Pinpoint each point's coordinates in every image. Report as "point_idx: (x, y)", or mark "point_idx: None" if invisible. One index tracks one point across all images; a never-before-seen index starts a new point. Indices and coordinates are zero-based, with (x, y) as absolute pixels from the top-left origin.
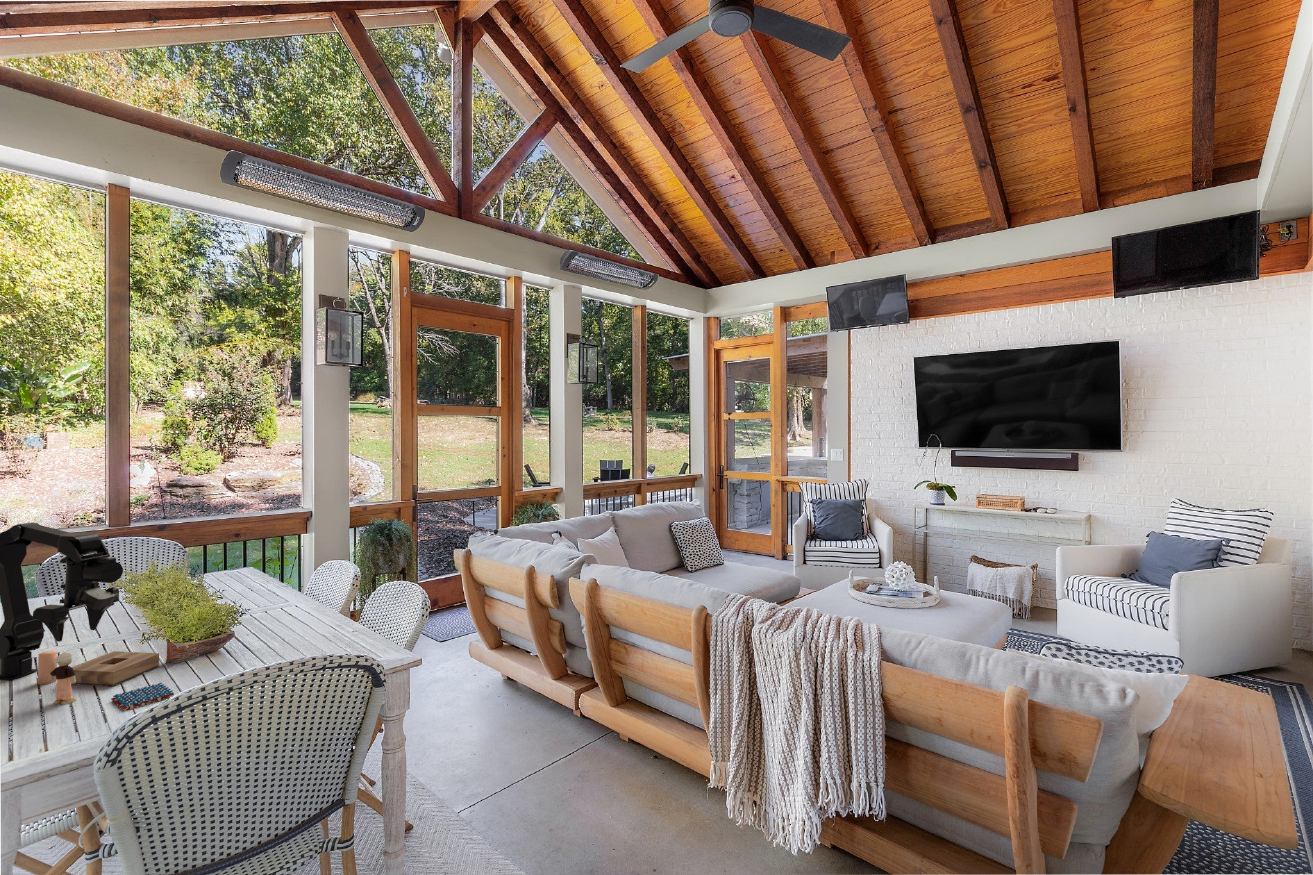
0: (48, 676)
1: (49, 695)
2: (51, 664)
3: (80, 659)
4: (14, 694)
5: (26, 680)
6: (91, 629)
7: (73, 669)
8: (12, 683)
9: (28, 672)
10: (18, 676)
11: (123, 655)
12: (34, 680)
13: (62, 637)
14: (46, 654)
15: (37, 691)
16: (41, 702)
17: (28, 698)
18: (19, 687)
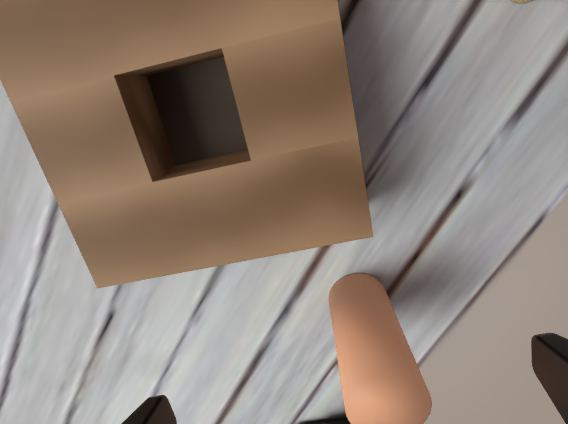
0: (377, 292)
1: (475, 126)
2: (380, 326)
3: None
4: (487, 274)
5: None
6: (172, 420)
7: (357, 196)
8: None
9: (332, 422)
10: None
11: (104, 170)
12: None
13: (566, 356)
14: (412, 388)
15: (446, 226)
16: (554, 64)
17: (517, 177)
18: (426, 329)
